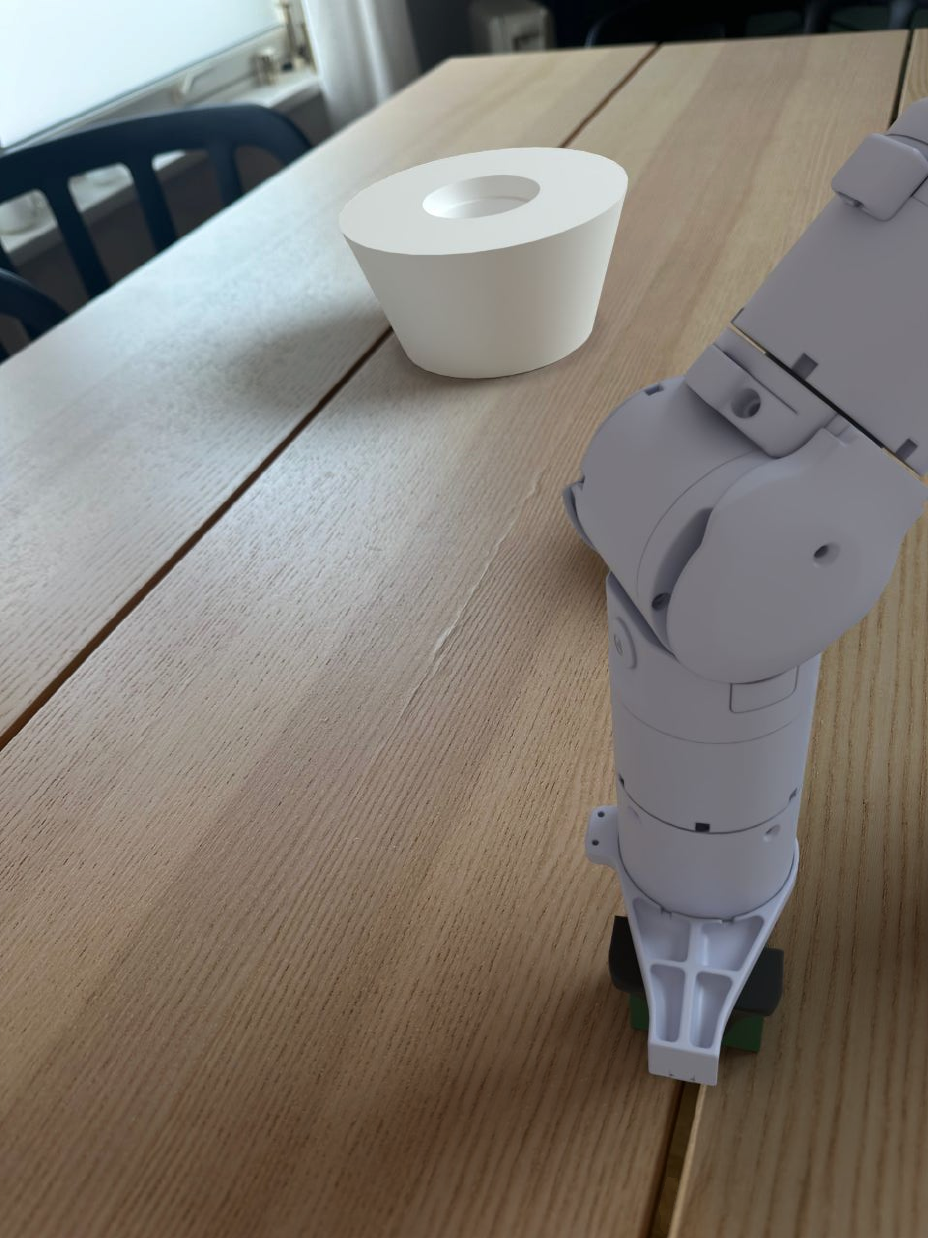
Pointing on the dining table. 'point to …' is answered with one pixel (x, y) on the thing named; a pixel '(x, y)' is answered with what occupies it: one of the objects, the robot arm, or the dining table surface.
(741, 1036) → the green rectangular block
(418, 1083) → the dining table surface
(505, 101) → the dining table surface
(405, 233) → the white tapered cylinder
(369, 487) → the dining table surface
